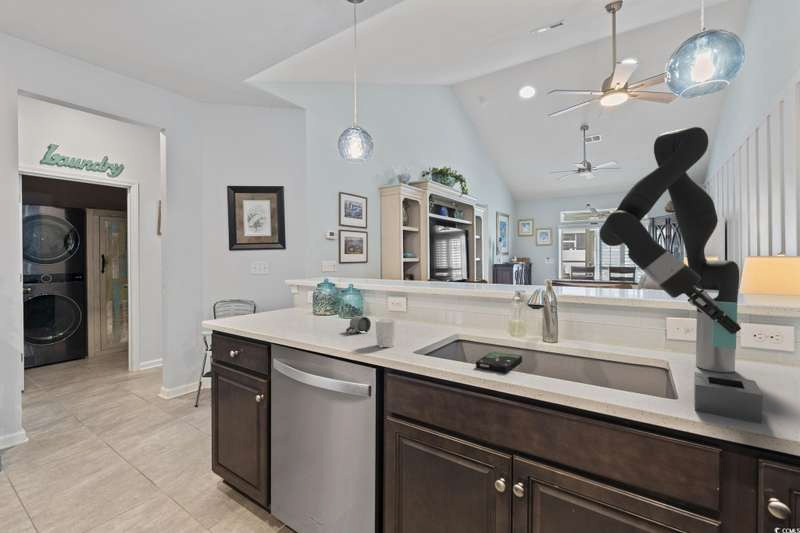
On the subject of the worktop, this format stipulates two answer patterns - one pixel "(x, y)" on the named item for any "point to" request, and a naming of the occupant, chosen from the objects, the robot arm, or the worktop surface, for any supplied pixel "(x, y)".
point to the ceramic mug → (359, 324)
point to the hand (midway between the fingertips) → (735, 329)
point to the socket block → (728, 397)
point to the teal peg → (719, 333)
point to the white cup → (385, 332)
